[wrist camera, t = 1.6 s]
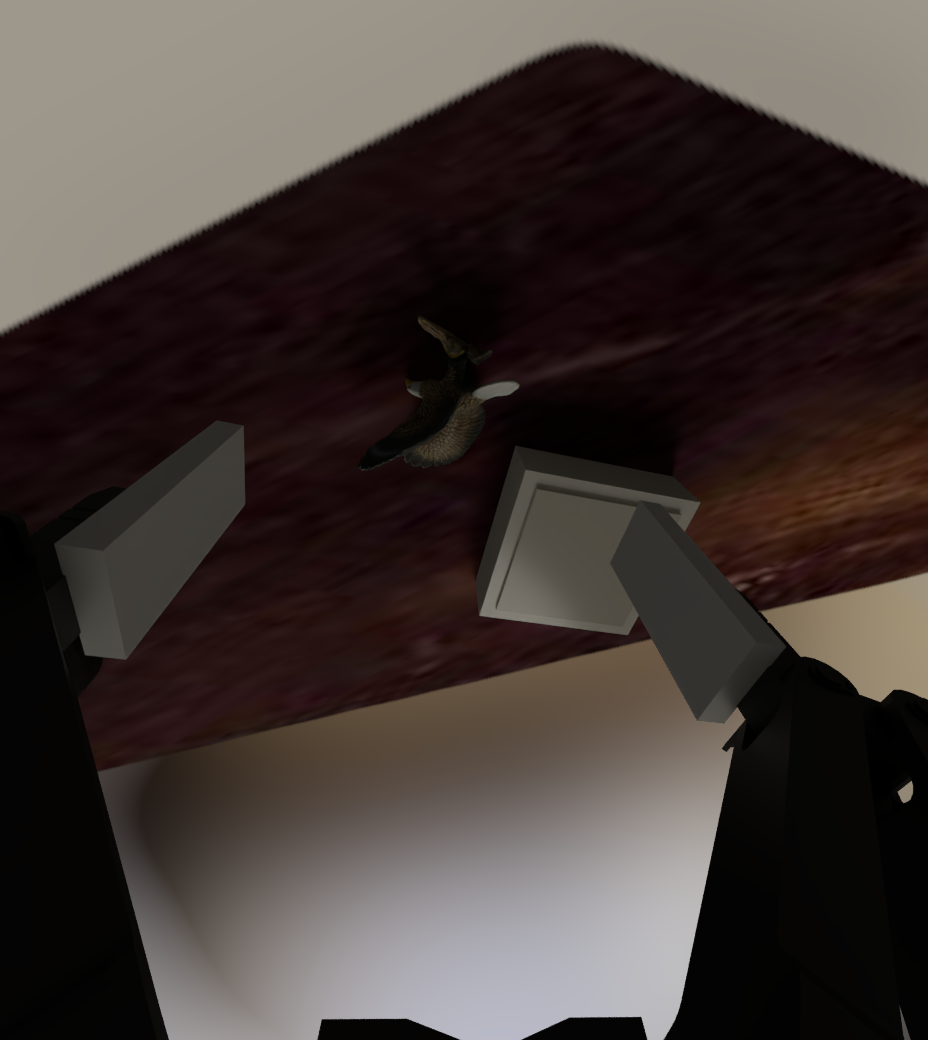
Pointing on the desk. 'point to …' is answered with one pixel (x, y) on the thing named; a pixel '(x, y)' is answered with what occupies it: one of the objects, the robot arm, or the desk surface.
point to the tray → (567, 540)
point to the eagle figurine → (441, 410)
